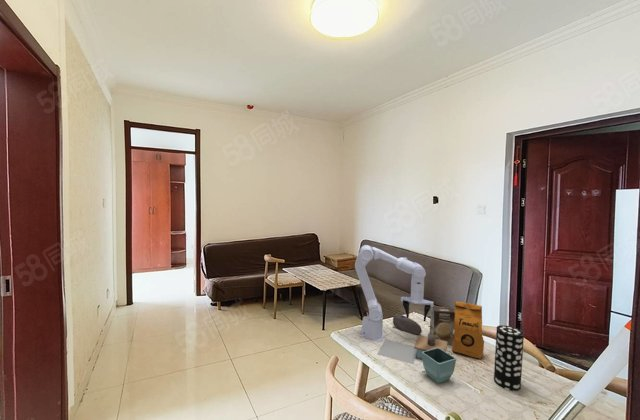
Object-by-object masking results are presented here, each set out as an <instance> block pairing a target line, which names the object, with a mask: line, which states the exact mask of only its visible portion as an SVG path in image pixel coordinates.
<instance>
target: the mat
mask: <svg viewBox="0 0 640 420" xmlns="http://www.w3.org/2000/svg"><path fill="white" fill-rule="evenodd" d="M414 346H415V345H412V344H407V343H403V342H399V341H396V340H395V341H394V340H390V339H386V338H385V339H384V341H383V343H382V344H381V347H380V348H379V349H378V351H377V353H376V355H378V356H382V357H386V358H390V359H393V360H397V361H401V362H404V363H408V364H411V365H413V364H415V360H416V358H417V349H414Z"/></svg>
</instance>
